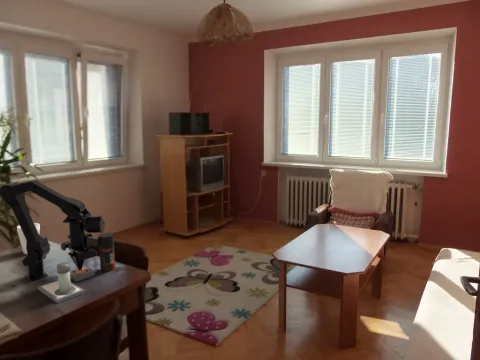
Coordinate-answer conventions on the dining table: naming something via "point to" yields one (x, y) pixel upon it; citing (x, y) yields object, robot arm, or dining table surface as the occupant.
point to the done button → (80, 271)
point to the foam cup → (22, 237)
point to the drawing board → (55, 295)
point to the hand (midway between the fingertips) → (80, 269)
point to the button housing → (81, 276)
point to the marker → (64, 277)
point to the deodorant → (106, 252)
